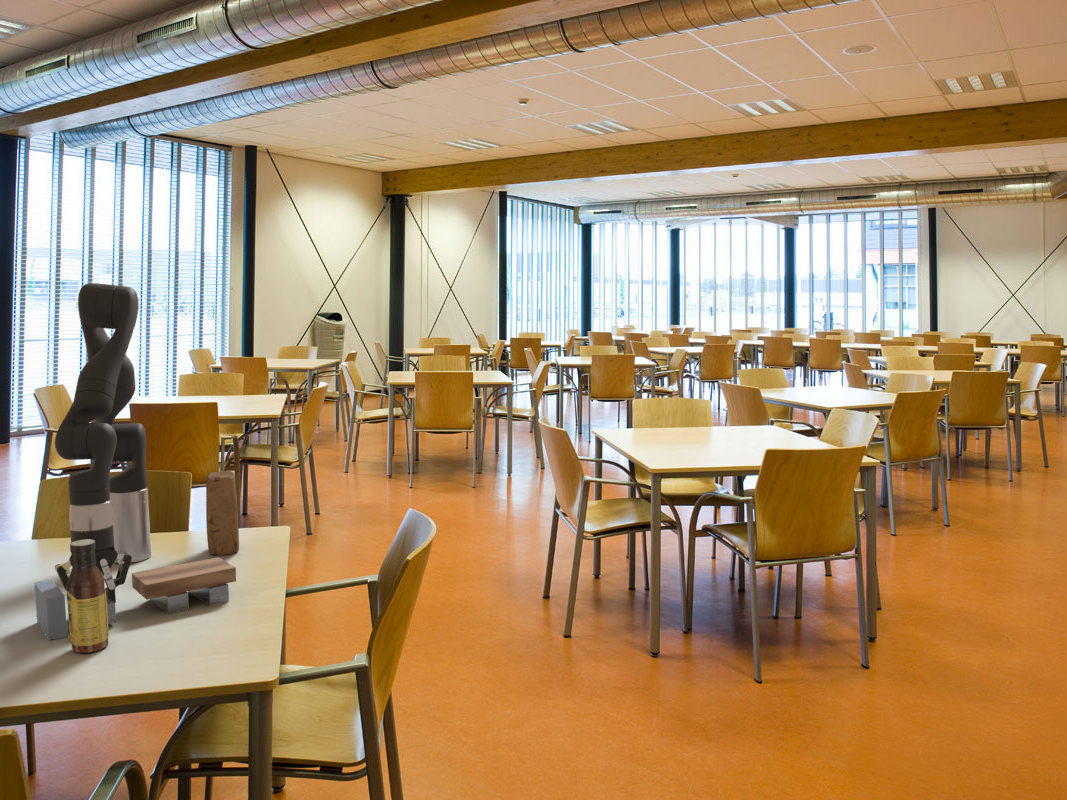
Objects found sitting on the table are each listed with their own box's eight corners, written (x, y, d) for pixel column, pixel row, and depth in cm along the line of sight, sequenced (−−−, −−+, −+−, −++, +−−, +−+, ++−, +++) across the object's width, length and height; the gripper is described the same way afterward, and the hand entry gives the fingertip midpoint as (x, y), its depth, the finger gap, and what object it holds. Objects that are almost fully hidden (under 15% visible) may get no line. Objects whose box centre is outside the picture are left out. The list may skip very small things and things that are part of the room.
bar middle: (150, 601, 185) (149, 582, 185) (169, 597, 188) (168, 578, 187) (168, 616, 176) (167, 597, 176) (188, 611, 179) (187, 592, 178)
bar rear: (188, 593, 190) (188, 575, 190) (207, 589, 193) (206, 571, 192) (210, 607, 181) (209, 588, 181) (229, 603, 184) (228, 584, 183)
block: (239, 555, 218) (236, 475, 216) (207, 558, 215) (203, 477, 213) (239, 544, 228) (235, 468, 226) (208, 546, 225) (204, 470, 223)
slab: (132, 587, 182) (131, 573, 182) (219, 570, 193) (218, 557, 193) (146, 599, 174) (145, 585, 174) (236, 581, 186) (235, 567, 185)
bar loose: (79, 610, 177) (78, 591, 176) (101, 605, 179) (100, 587, 179) (93, 627, 167) (92, 607, 167) (116, 622, 170) (115, 603, 170)
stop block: (37, 622, 172) (34, 582, 171) (54, 618, 174) (51, 579, 173) (49, 640, 163) (46, 598, 162) (67, 636, 165) (64, 595, 164)
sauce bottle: (79, 642, 162) (73, 536, 160) (115, 641, 162) (108, 535, 160) (64, 656, 155) (56, 546, 153) (100, 655, 156) (94, 545, 154)
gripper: (125, 515, 179) (130, 597, 181) (46, 526, 170) (52, 612, 172) (135, 522, 173) (140, 606, 175) (54, 534, 164) (60, 623, 166)
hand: (96, 609), depth 173 cm, fingers closed on bar loose, 4 cm apart
